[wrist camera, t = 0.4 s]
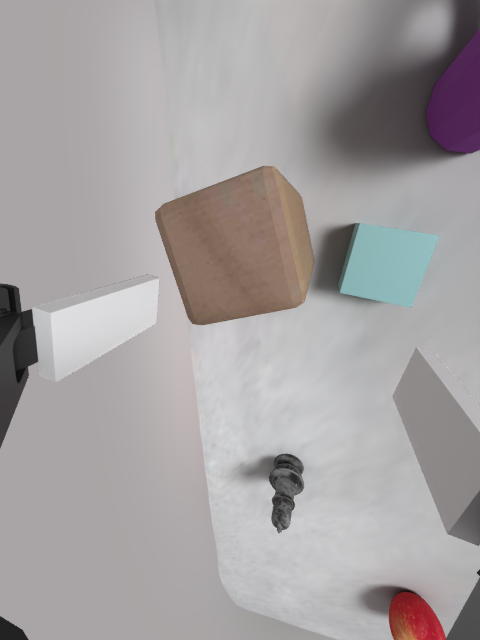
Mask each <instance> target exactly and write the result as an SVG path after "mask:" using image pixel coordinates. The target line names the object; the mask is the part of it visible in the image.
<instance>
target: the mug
mask: <svg viewBox="0 0 480 640" xmlns="http://www.w3.org/2000/svg"><path fill="white" fill-rule="evenodd" d="M426 116H427V121H428V127H429V132H430V136H431V137H432V138H433V139H434V140H435V141H436V142H437V143H438V144H439V145H441V146H442V147H443V148H444V149H445V150H446V151H455V152H464V153H473V152H476V151H478V150H480V28H479V30H478V31H477V32H476V33H475V35H474V36H473V37H472V38H471V40H470V41H469V42H468V43H467V45H466V46H465V47H464V48H463V50H462V51H461V52H460V53H459V55H458V56H457V57H456V58H455V60H454V61H453V62H452V63H451V65H450V66H449V67H448V68H447V70H446V71H445V72H444V73H443V75H442V76H441V77H440V78H439V80H438V81H437V82H436V83H435V86H434V89H433V92H432V95H431V98H430V101H429V104H428V107H427V110H426Z"/></svg>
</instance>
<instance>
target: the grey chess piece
mask: <svg viewBox="0 0 480 640" xmlns="http://www.w3.org/2000/svg"><path fill="white" fill-rule="evenodd" d="M274 465H275V469H274V470H273V471H272V472H271V474H270V477H269V481H270V484H271V485H272V487H273V488H274V489H275V490H276V492H275V495H274V497H273V498H272V503H273V505H274V506H273V512H272V523H273V525H274V526H275V527H276V528H277V531H278V533H280V532H281V531H282V530H285V529H287V528H288V527H289V525H290V521H291V512H292V510H293V509H294V507H295V503H294V501H293V499H294V495H297V494H299V493H301V492H302V491H303V489H304V482H303V479H302V476H301V474H302V473H303V471H304V466H303V464H302V462H301V461H300V460H299V459H298V458H297V457H295V456H293V455H290V454H281V455H279V456H277V457H276V459H275V461H274Z"/></svg>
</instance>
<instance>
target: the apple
mask: <svg viewBox="0 0 480 640" xmlns="http://www.w3.org/2000/svg"><path fill="white" fill-rule="evenodd" d="M389 624H390V629H391V633H392V636H393V639H394V640H446V637H445V633H444V631H443V628H442V626H441V624H440V621H439V620H438V618H437V616H436V614H435V613H434V611H433V610H432V609H431V607H430V606H429V605H428V604H427V602H426V601H425V600H424V599H422V598H421V597H420V596H418V595H416V594H414V593H410V592H401V593H399V594H397V595H396V596H395V597H394V598H393V600H392V602H391V605H390V609H389Z"/></svg>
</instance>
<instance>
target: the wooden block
mask: <svg viewBox="0 0 480 640" xmlns="http://www.w3.org/2000/svg"><path fill="white" fill-rule="evenodd" d="M155 219H156V223H157V226H158V229H159V232H160V235H161V238H162V241H163V244H164V247H165V250H166V253H167V256H168V259H169V262H170V265H171V268H172V270H173V274H174V277H175V280H176V283H177V285H178V289H179V291H180V295H181V298H182V300H183V304H184V306H185V309H186V312H187V315H188V318H189V320H190V321H191V322H192V324H197V325H206V324H211V323H217V322H222V321H227V320H233V319H238V318H243V317H249V316H254V315H259V314H265V313H270V312H275V311H280V310H286V309H291V308H296V307H298V306H299V305H301V304H302V303H304V302H305V298H306V294H307V290H308V286H309V282H310V278H311V274H312V270H313V266H314V256H313V251H312V246H311V241H310V236H309V231H308V226H307V221H306V216H305V211H304V206H303V201H302V197H301V196H300V195H299V193H298V192H297V191H296V190H295V189H294V187H293V186H292V185H291V184H290V183H289V182H288V181H287V180H286V179H285V178H284V177H283V175H282V174H281V173H280V172H279V171H278V170H277V169H276V168H275V167H271V166H262V167H259V168H257V169H254V170H251V171H249V172H246V173H244V174H241V175H238V176H236V177H233V178H230V179H228V180H225V181H223V182H220V183H217V184H215V185H212V186H209V187H207V188H204V189H202V190H199V191H196V192H194V193H191V194H189V195H186V196H183V197H181V198H178V199H175V200H173V201H170V202H168V203H165V204H163V205H162V206H161V207H160V208H159V209H158V210H157V211H156V212H155Z"/></svg>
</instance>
